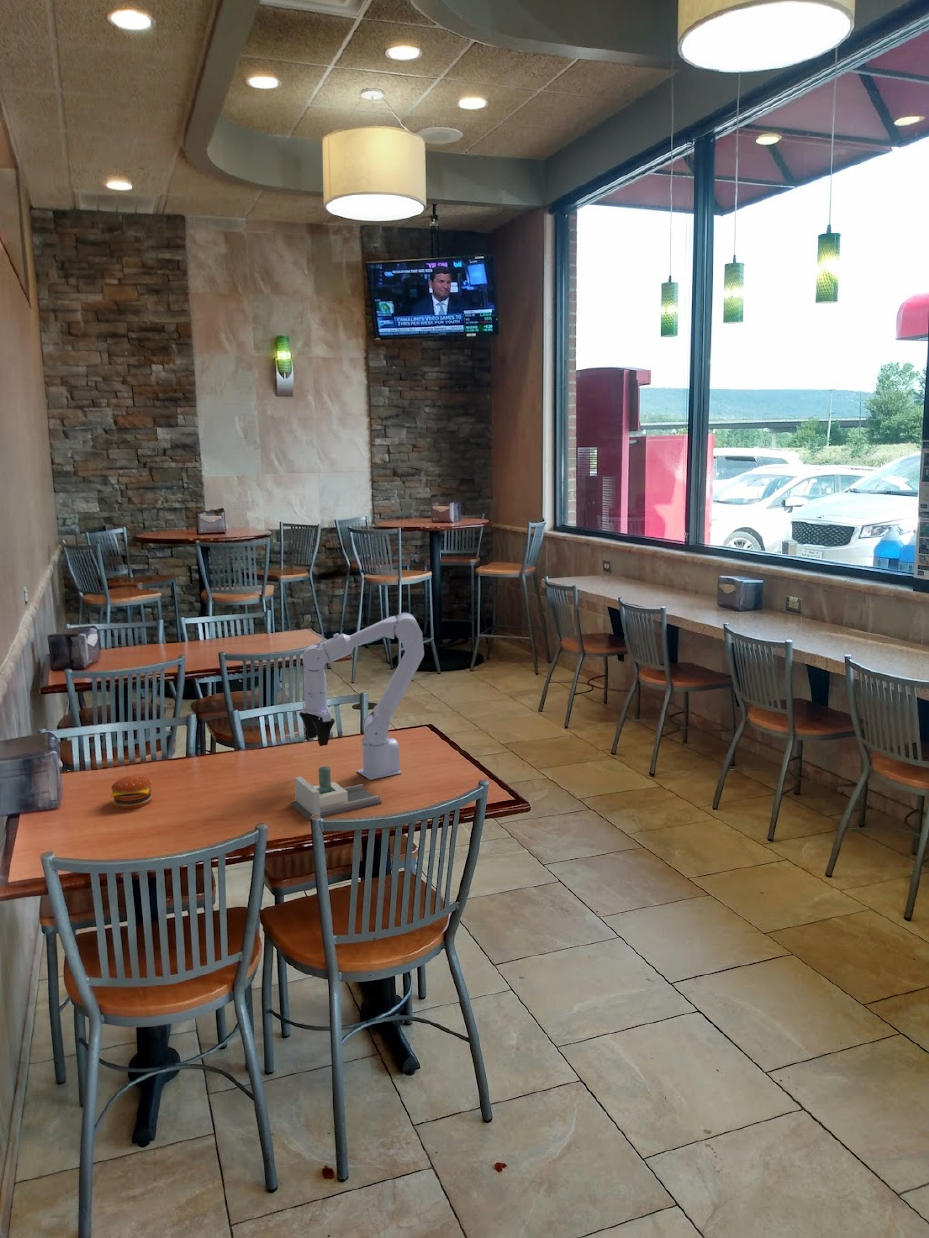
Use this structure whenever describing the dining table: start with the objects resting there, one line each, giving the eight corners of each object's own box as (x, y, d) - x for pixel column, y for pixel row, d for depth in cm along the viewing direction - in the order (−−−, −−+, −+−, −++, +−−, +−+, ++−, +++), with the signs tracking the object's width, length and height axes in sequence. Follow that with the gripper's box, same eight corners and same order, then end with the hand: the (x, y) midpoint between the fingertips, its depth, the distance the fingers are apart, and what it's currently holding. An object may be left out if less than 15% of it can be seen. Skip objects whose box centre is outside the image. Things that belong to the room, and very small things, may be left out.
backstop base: (360, 788, 235) (359, 764, 234) (381, 803, 225) (380, 777, 224) (290, 804, 226) (288, 778, 224) (308, 820, 215) (307, 793, 214)
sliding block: (334, 795, 229) (334, 781, 229) (348, 805, 223) (347, 791, 222) (304, 801, 225) (303, 788, 225) (317, 812, 219) (316, 798, 218)
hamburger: (152, 807, 225) (149, 781, 224) (110, 812, 223) (108, 786, 222) (154, 793, 234) (152, 769, 233) (115, 798, 232) (112, 773, 231)
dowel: (328, 796, 226) (327, 765, 224) (333, 800, 223) (332, 769, 222) (318, 798, 224) (316, 767, 222) (322, 802, 222) (321, 771, 220)
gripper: (290, 687, 244) (293, 736, 246) (311, 699, 232) (314, 751, 234) (315, 684, 248) (318, 732, 250) (337, 695, 235) (339, 746, 238)
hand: (317, 741), depth 242 cm, fingers open, 7 cm apart
